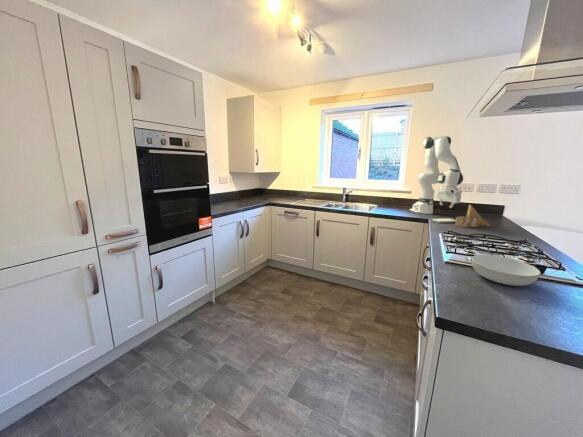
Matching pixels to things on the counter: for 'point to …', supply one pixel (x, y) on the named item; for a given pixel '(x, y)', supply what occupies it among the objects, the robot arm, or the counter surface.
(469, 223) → the crate
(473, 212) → the sandwich container
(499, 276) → the serving bowl
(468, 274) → the counter surface
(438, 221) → the lid
